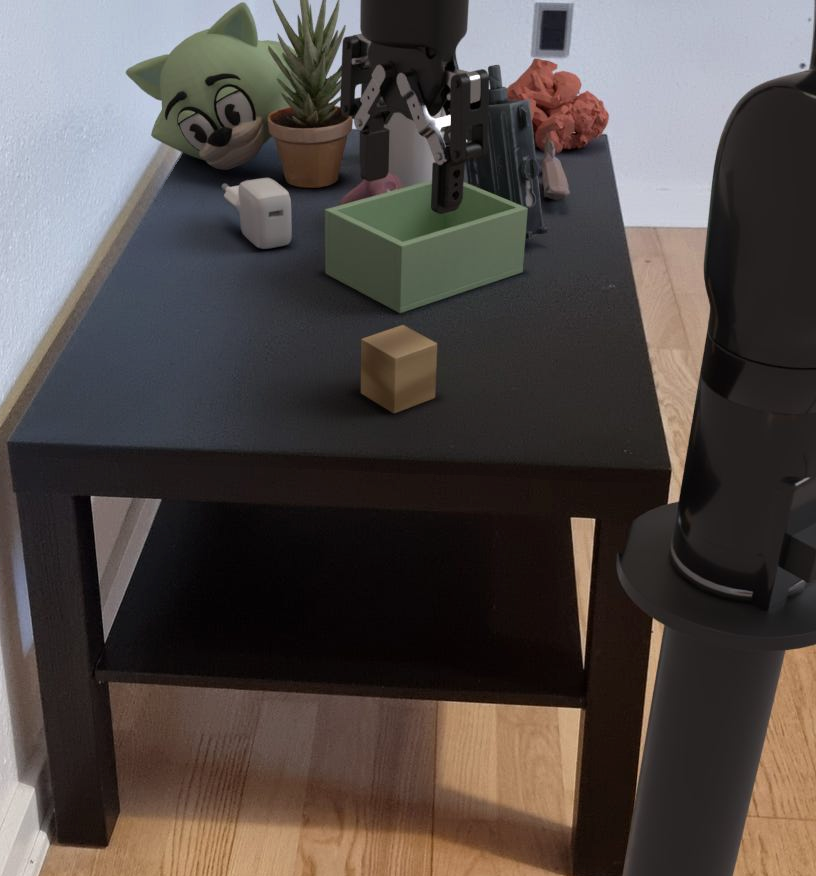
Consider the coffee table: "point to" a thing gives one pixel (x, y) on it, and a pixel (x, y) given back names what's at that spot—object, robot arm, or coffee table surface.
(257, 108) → the toy
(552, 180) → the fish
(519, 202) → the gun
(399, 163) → the mug
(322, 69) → the potted plant
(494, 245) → the bin
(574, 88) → the anatomical model
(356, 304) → the coffee table surface
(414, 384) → the block
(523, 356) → the coffee table surface
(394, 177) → the pink irregular tapered piece
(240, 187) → the power adapter
